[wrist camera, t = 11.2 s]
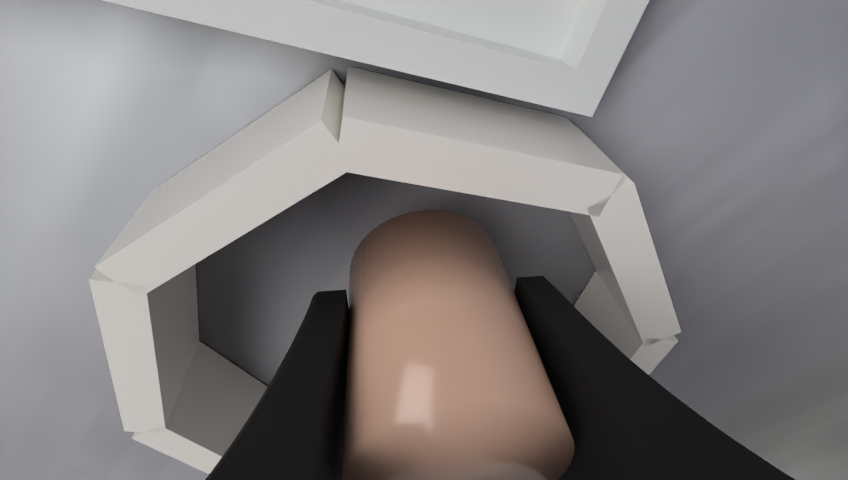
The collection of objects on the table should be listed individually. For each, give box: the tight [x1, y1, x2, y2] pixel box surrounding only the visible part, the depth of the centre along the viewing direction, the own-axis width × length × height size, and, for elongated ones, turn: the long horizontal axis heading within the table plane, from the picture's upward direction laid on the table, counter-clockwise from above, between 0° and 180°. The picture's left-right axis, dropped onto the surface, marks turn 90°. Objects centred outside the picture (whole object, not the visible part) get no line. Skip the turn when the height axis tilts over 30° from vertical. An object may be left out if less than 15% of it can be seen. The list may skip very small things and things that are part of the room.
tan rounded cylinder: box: [342, 210, 575, 480], centre depth 9 cm, size 4×4×5 cm
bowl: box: [89, 66, 681, 474], centre depth 13 cm, size 14×14×3 cm
